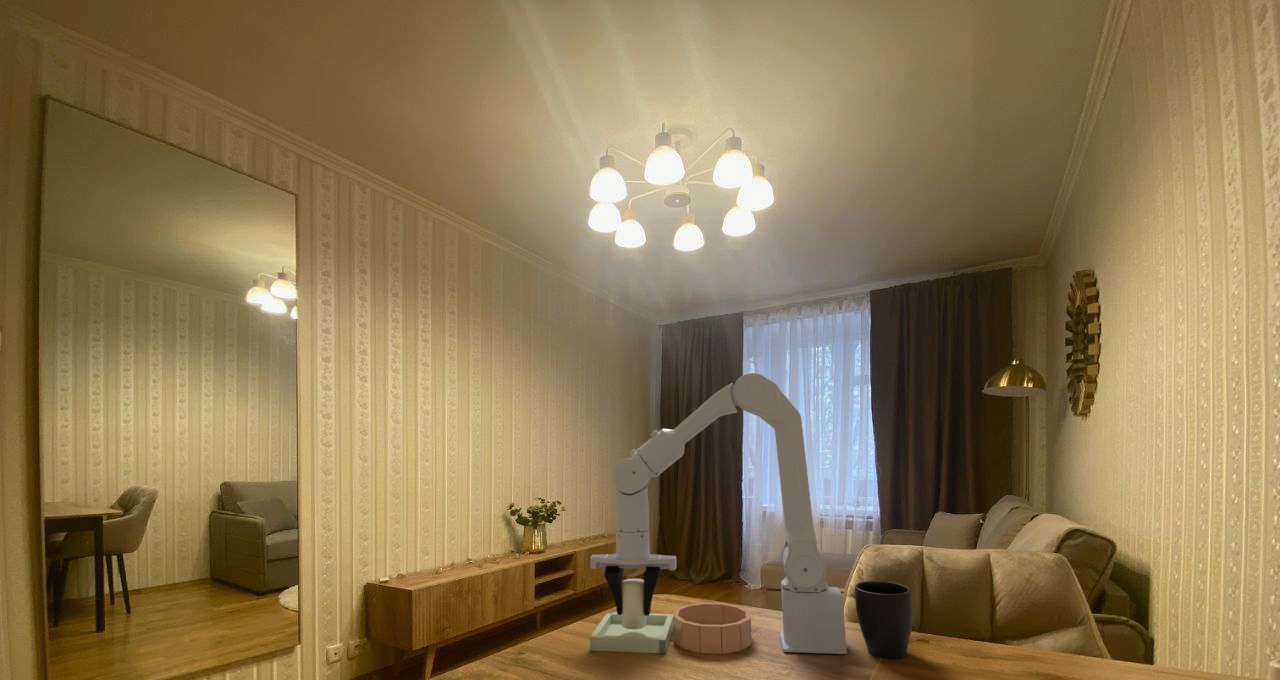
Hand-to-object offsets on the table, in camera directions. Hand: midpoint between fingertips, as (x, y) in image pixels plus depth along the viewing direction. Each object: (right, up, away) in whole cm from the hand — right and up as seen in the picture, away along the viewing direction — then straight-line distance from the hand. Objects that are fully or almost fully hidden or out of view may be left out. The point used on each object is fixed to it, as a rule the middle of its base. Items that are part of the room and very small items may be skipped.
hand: (633, 613), depth 102 cm
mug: (+39, -2, -7) cm, 40 cm away
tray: (0, -4, -1) cm, 4 cm away
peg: (0, -2, 0) cm, 2 cm away
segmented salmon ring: (+13, -3, -2) cm, 14 cm away
